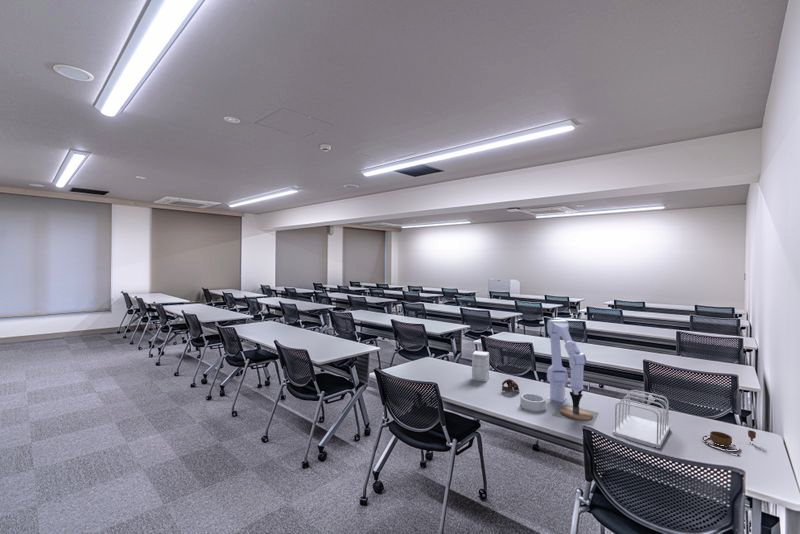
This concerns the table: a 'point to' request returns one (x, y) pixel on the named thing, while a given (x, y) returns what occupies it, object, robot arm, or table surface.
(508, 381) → the brown dome
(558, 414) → the grey square pad
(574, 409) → the walnut lid
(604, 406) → the table surface
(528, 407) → the grey bowl
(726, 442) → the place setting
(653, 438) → the file sorter
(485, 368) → the supplement box
